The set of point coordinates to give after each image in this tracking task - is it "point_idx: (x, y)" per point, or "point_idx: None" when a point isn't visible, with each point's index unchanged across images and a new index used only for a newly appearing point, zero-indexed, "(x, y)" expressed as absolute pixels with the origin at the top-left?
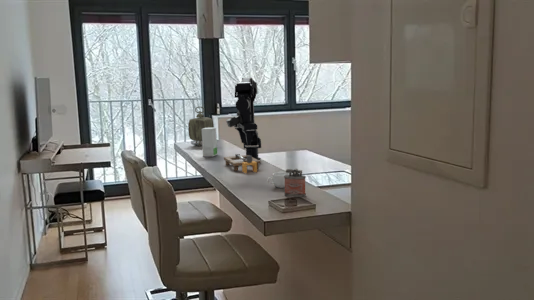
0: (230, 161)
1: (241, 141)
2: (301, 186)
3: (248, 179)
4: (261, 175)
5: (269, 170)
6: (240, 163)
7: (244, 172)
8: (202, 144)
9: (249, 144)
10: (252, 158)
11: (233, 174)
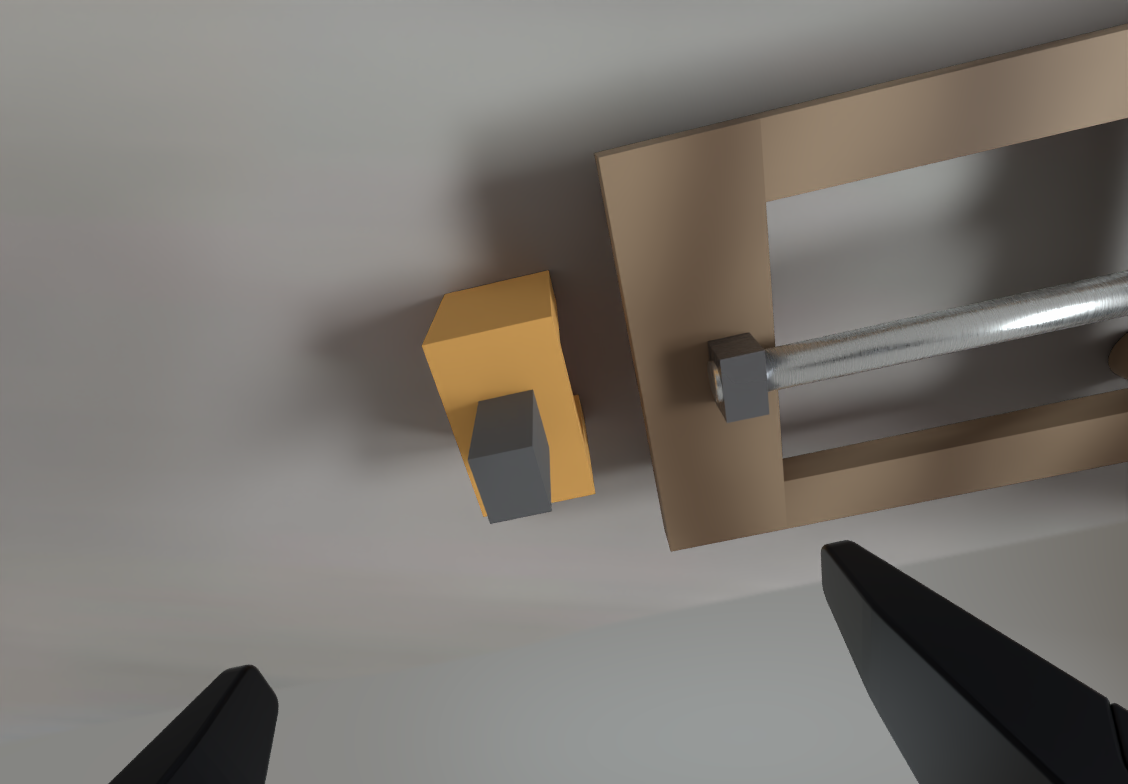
0: (846, 97)
1: (870, 561)
2: None
3: (27, 326)
4: (283, 474)
5: (557, 558)
6: (620, 280)
7: (447, 296)
8: None
9: (242, 718)
10: (936, 469)
11: (375, 129)
